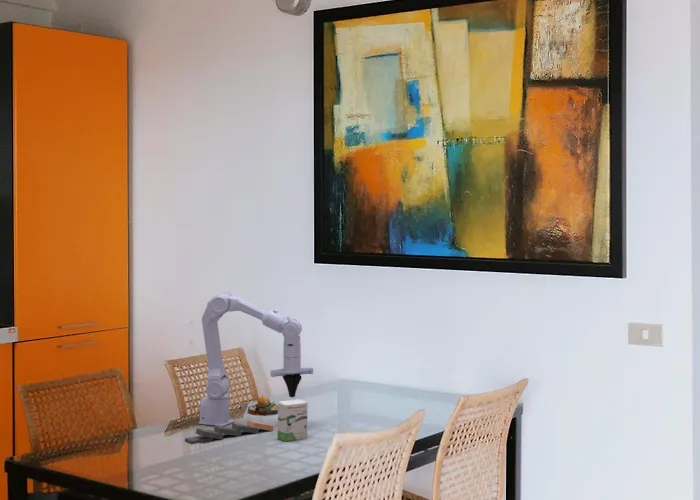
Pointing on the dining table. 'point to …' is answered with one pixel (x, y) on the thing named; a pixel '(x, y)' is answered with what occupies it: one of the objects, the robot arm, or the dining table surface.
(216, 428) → the tile
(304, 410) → the ink box
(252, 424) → the tile
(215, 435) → the tile
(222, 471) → the dining table surface
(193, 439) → the tile
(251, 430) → the tile
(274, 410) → the burger
